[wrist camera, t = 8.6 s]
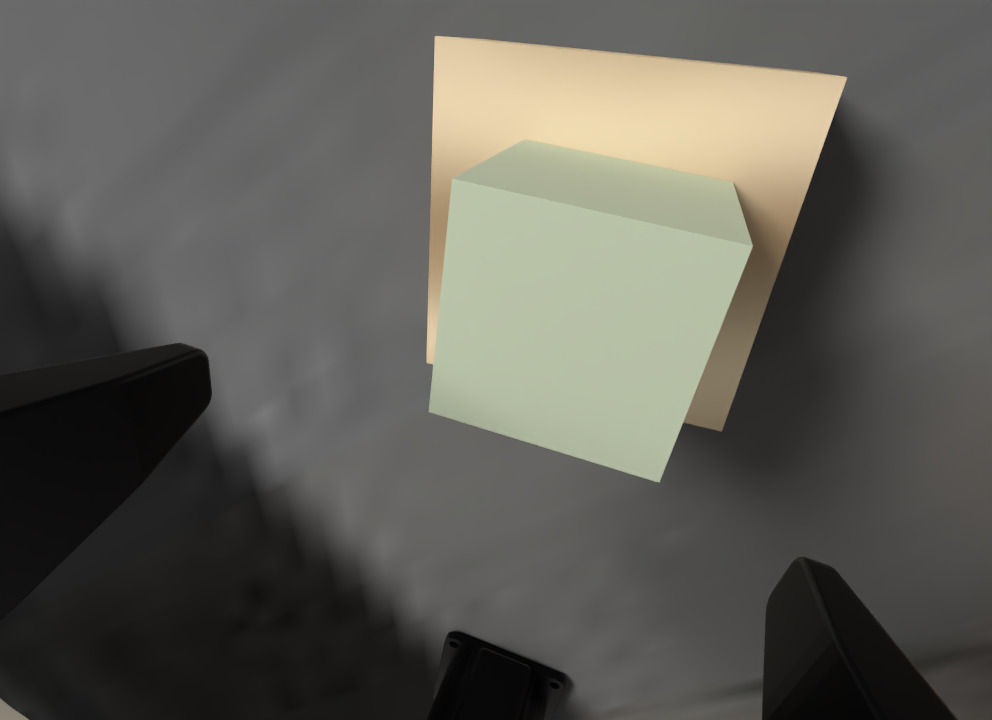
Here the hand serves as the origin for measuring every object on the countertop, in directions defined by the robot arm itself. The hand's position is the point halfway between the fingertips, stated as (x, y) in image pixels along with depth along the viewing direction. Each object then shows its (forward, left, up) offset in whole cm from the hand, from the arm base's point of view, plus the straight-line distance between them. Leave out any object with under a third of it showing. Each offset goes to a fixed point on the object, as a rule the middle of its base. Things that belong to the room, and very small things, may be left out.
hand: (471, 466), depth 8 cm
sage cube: (+1, -1, -8) cm, 8 cm away
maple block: (+1, 0, -12) cm, 12 cm away
